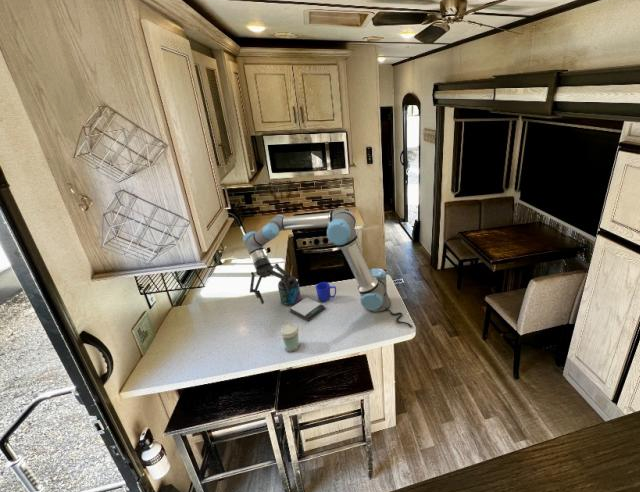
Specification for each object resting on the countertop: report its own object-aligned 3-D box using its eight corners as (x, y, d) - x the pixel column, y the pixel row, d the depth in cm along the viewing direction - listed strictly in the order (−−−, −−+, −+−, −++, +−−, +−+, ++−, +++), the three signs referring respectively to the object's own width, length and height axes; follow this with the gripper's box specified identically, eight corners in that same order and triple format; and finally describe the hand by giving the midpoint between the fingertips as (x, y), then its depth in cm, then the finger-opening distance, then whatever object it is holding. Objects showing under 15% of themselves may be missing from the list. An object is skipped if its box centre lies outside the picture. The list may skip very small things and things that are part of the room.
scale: (324, 309, 194) (324, 304, 192) (307, 321, 184) (307, 317, 183) (307, 300, 201) (306, 296, 200) (290, 312, 192) (289, 307, 190)
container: (277, 299, 202) (274, 276, 196) (296, 293, 209) (294, 270, 203) (284, 309, 194) (281, 285, 188) (304, 302, 201) (302, 278, 195)
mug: (335, 303, 198) (334, 289, 194) (316, 303, 199) (314, 289, 195) (338, 295, 206) (337, 281, 202) (319, 295, 206) (317, 281, 202)
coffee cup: (302, 351, 164) (298, 332, 159) (284, 355, 161) (280, 336, 156) (300, 339, 171) (297, 321, 166) (283, 343, 168) (279, 325, 164)
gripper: (282, 254, 179) (298, 289, 174) (234, 271, 164) (250, 309, 159) (285, 249, 173) (301, 285, 168) (235, 266, 158) (251, 306, 154)
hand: (276, 297), depth 164 cm, fingers open, 13 cm apart
